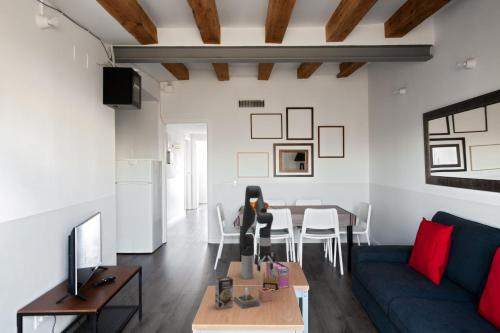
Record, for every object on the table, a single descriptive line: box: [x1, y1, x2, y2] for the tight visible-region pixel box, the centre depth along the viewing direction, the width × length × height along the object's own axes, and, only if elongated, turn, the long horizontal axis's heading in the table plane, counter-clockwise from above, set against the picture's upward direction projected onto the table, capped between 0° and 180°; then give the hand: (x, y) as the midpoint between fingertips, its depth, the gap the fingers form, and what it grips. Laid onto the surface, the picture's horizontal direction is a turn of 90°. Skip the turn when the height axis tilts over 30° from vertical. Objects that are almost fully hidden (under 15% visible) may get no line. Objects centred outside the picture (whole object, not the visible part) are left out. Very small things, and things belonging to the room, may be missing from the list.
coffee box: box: [214, 276, 234, 310], centre depth 178 cm, size 9×6×16 cm
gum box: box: [265, 260, 290, 287], centre depth 220 cm, size 24×8×14 cm, turn 21°
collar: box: [258, 287, 273, 303], centre depth 188 cm, size 6×6×6 cm
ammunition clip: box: [262, 271, 279, 290], centre depth 205 cm, size 11×2×12 cm, turn 74°
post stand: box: [233, 286, 260, 310], centre depth 183 cm, size 14×11×9 cm
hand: (265, 270), depth 189 cm, fingers open, 8 cm apart
